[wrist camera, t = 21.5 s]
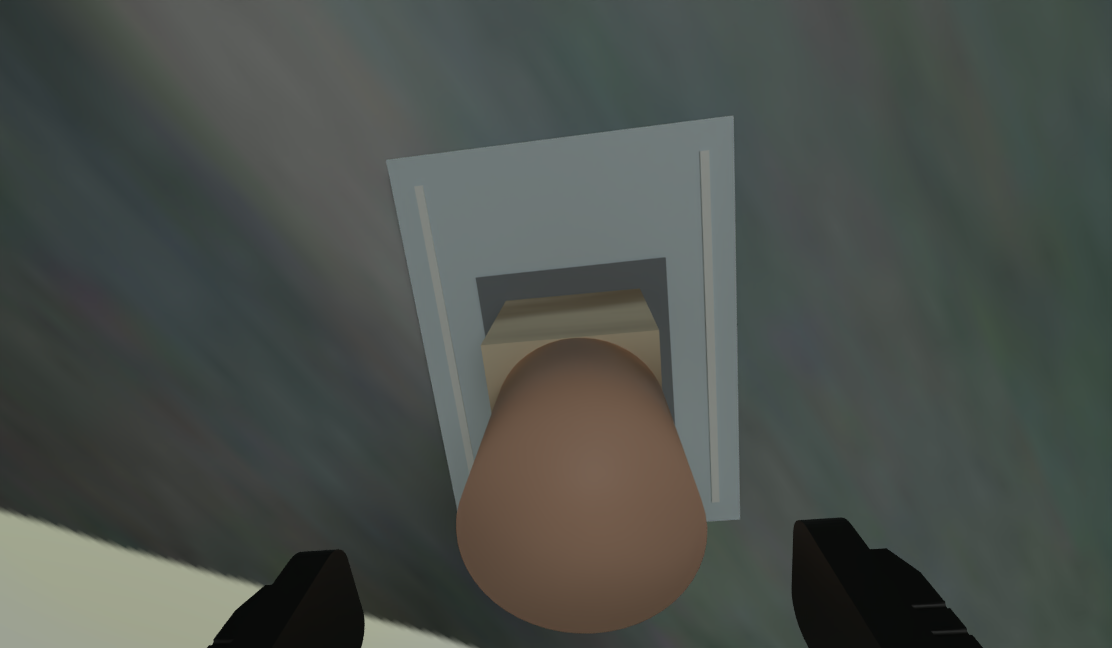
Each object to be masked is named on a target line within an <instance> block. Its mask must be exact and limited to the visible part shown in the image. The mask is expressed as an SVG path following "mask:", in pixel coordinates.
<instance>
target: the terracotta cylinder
mask: <svg viewBox="0 0 1112 648" xmlns="http://www.w3.org/2000/svg"><path fill="white" fill-rule="evenodd" d="M456 533H457V541H458V546H459V550H460V553H461V557H462V559H463V561H464V563H465V566H466V568H467V570H468V571H469V573H470V575H471V576H472V578H473V579H474V581H475V582H476V584H477V585H478V586H479V587H480V588H481V590H482V591H483V592H484V593H485V594H486V595H487V596H488V597H489V598H490V599H492V600H493V601H494V602H495V603H496V604H498V605H499V606H500V607H502V608H503V609H504V610H506V611H507V612H509V613H511V614H513V615H514V616H516V617H518V618H520V619H522V620H524V621H527V622H529V623H531V624H534V625H537V626H540V627H543V628H546V629H551V630H556V631H561V632H569V633H601V632H609V631H614V630H619V629H623V628H626V627H629V626H632V625H635V624H638V623H640V622H642V621H645V620H647V619H649V618H651V617H653V616H654V615H656V614H658V613H659V612H661V611H663V610H664V609H665V608H667V607H668V606H669V605H670V604H672V603H673V602H674V601H675V600H676V599H677V598H678V597H679V596H680V595H681V594H682V593H683V592H684V591H685V590H686V588H687V587H688V586H689V584H690V583H691V582H692V580H693V578H694V577H695V575H696V573H697V571H698V569H699V567H700V565H701V562H702V559H703V556H704V552H705V547H706V542H707V522H706V514H705V510H704V507H703V503H702V500H701V497H700V494H699V491H698V489H697V486H696V483H695V480H694V477H693V475H692V472H691V469H690V466H689V463H688V461H687V458H686V455H685V452H684V449H683V446H682V444H681V441H680V438H679V435H678V432H677V430H676V427H675V424H674V421H673V418H672V416H671V413H670V410H669V407H668V404H667V402H666V399H665V396H664V393H663V390H662V388H661V386H660V384H659V382H658V380H657V378H656V377H655V375H654V374H653V372H652V371H651V370H650V369H649V368H648V366H647V365H646V364H645V363H644V362H643V361H642V360H640V359H639V358H638V357H637V356H636V355H634V354H633V353H631V352H630V351H628V350H626V349H624V348H622V347H620V346H618V345H616V344H613V343H610V342H607V341H603V340H599V339H593V338H568V339H562V340H558V341H554V342H551V343H548V344H546V345H543V346H541V347H539V348H537V349H535V350H534V351H532V352H530V353H529V354H527V355H526V356H525V357H524V358H522V359H521V360H520V361H519V362H518V363H517V364H516V365H515V366H514V367H513V368H512V370H511V371H510V373H509V374H508V375H507V377H506V379H505V381H504V383H503V385H502V387H501V389H500V392H499V395H498V398H497V400H496V403H495V406H494V408H493V411H492V414H491V417H490V419H489V422H488V425H487V428H486V430H485V433H484V436H483V438H482V441H481V444H480V447H479V449H478V452H477V455H476V458H475V460H474V463H473V466H472V468H471V471H470V474H469V477H468V479H467V482H466V485H465V488H464V490H463V493H462V496H461V499H460V502H459V506H458V511H457V517H456Z"/></svg>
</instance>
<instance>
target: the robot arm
mask: <svg viewBox="0 0 1112 648" xmlns="http://www.w3.org/2000/svg"><path fill="white" fill-rule="evenodd" d="M792 600H793V606H794V611H795V615H796V619H797V622H798V625H799V628H800V630H801V633H802V635H803V637H804V639H805V641H806V643H807V645H808V648H983V647H982V646H981V645H980V644H979V642H978V641H977V640H976V639H975V638H974V636H973V635H969V634H968V632H967V628H966V627H965V626H964V624H963V623H962V622H961V621H960V620H959V618H958V617H957V616H956V615H955V614H954V612H953V611H952V610H951V609H950V608H947V607H946V605H945V601H944V600H943V599H942V598H941V597H940V595H939V594H938V593H937V592H936V591H935V589H934V588H933V587H932V586H931V585H930V583H929V582H928V581H927V580H926V578H925V577H924V576H923V575H922V574H921V572H919V571H918V570H916V569H915V568H914V567H912V566H911V565H909V564H908V563H907V562H905V561H904V560H902V559H901V558H899V557H898V556H897V555H895V554H894V553H892V552H891V551H889V550H888V549H887V548H885V549H869V548H868V546H867V545H866V544H865V542H864V541H863V540H862V538H861V537H860V536H859V534H858V533H857V532H856V530H855V529H854V527H853V526H852V525H851V524H850V522H849V521H847V520H846V519H845V518H826V519H811V520H798V521H796V522H795V524H794V530H793V559H792ZM364 624H365V623H364V614H363V610H362V606H361V603H360V599H359V596H358V592H357V589H356V586H355V582H354V579H353V575H352V572H351V568H350V565H349V562H348V558H347V556H346V554H345V553H344V552H343V551H342V550H339V549H338V550H323V551H308V552H299V553H297V554H295V555H294V556H293V557H292V558H291V559H290V561H289V562H288V563H287V565H286V566H285V568H284V569H283V570H282V572H281V573H280V575H279V576H278V577H277V579H276V580H275V582H274V583H273V584H272V585H265V586H264V587H262V588H261V589H260V590H259V591H258V592H257V593H255V594H254V595H253V596H252V597H251V598H249V599H248V600H247V601H246V602H245V603H244V604H242V605H241V606H240V607H239V608H238V609H237V610H235V612H234V613H233V614H232V616H231V617H230V618H229V620H228V621H227V622H226V624H225V625H224V626H223V628H222V629H221V630H220V632H219V633H218V634H217V635H216V637H215V638H214V642H213V645H209V646H208V647H207V648H361V646H362V642H363V636H364V626H365V625H364Z"/></svg>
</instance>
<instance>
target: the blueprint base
mask: <svg viewBox="0 0 1112 648" xmlns="http://www.w3.org/2000/svg"><path fill="white" fill-rule="evenodd" d="M386 162H387V167H388V172H389V177H390V182H391V187H392V192H393V197H394V202H395V207H396V212H397V216H398V221H399V226H400V231H401V236H402V241H403V246H404V251H405V256H406V261H407V266H408V270H409V275H410V280H411V285H412V290H413V295H414V300H415V305H416V310H417V315H418V320H419V325H420V329H421V334H422V339H423V344H424V349H425V354H426V359H427V364H428V369H429V374H430V379H431V383H432V388H433V393H434V398H435V403H436V408H437V413H438V418H439V423H440V428H441V433H442V438H443V442H444V447H445V452H446V457H447V462H448V467H449V472H450V477H451V482H452V487H453V492H454V497H455V501H456V506H457V511H458V506H459V502H460V499H461V496H462V493H463V490H464V488H465V485H466V482H467V479H468V477H469V474H470V471H471V468H472V466H473V463H474V460H475V458H476V455H477V452H478V449H479V447H480V444H481V441H482V438H483V436H484V433H485V430H486V428H487V425H488V422H489V419H490V417H491V408H490V401H489V395H488V389H487V382H486V376H485V370H484V363H483V357H482V351H481V344H482V342H483V340H484V339H485V337H486V335H487V333H488V331H489V330H490V328H491V326H492V324H493V323H494V321H495V319H496V317H497V316H498V314H499V312H500V310H501V309H502V307H503V305H504V303H505V301H509V300H520V299H531V298H542V297H553V296H563V295H574V294H585V293H596V292H607V291H618V290H629V289H639V288H640V290H641V292H642V294H643V296H644V299H645V301H646V303H647V305H648V307H649V309H650V311H651V314H652V316H653V318H654V320H655V322H656V324H657V327H658V329H659V337H660V356H661V376H662V390H663V393H664V396H665V399H666V402H667V404H668V407H669V410H670V413H671V416H672V418H673V421H674V424H675V427H676V430H677V432H678V435H679V438H680V441H681V444H682V446H683V449H684V452H685V455H686V458H687V461H688V463H689V466H690V469H691V472H692V475H693V477H694V480H695V483H696V486H697V489H698V491H699V494H700V497H701V500H702V503H703V507H704V510H705V514H706V522H707V521H722V520H738V519H740V486H739V424H738V361H737V299H736V237H735V174H734V116H726V117H718V118H710V119H703V120H695V121H687V122H679V123H671V124H663V125H656V126H648V127H640V128H632V129H624V130H617V131H609V132H601V133H593V134H585V135H577V136H570V137H562V138H554V139H546V140H538V141H530V142H523V143H515V144H507V145H499V146H491V147H483V148H476V149H468V150H460V151H452V152H444V153H436V154H429V155H421V156H413V157H405V158H397V159H389V160H386Z"/></svg>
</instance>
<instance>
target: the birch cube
mask: <svg viewBox="0 0 1112 648" xmlns="http://www.w3.org/2000/svg"><path fill="white" fill-rule="evenodd" d="M568 338H593V339H599V340H603V341H607V342H610V343H613V344H616V345H618V346H620V347H622V348H624V349H626V350H628V351H630V352H631V353H633V354H634V355H636V356H637V357H638V358H639V359H640V360H642V361H643V362H644V363H645V364H646V365H647V366H648V368H649V369H650V370H651V371H652V372H653V374H654V375H655V377H656V378H657V380H658V382H659V384H660V386H661V388H662V376H661V356H660V337H659V329H658V327H657V324H656V322H655V320H654V318H653V316H652V314H651V311H650V309H649V307H648V305H647V303H646V301H645V299H644V296H643V294H642V292H641V290H640V288H639V289H629V290H618V291H607V292H596V293H585V294H574V295H563V296H553V297H542V298H531V299H520V300H509V301H505V303H504V305H503V307H502V309H501V310H500V312H499V314H498V316H497V317H496V319H495V321H494V323H493V324H492V326H491V328H490V330H489V331H488V333H487V335H486V337H485V339H484V340H483V342H482V344H481V351H482V357H483V363H484V370H485V376H486V382H487V389H488V395H489V401H490V408H491V414H492V411H493V408H494V406H495V403H496V400H497V398H498V395H499V392H500V389H501V387H502V385H503V383H504V381H505V379H506V377H507V375H508V374H509V373H510V371H511V370H512V368H513V367H514V366H515V365H516V364H517V363H518V362H519V361H520V360H521V359H522V358H524V357H525V356H526V355H527V354H529V353H530V352H532V351H534V350H535V349H537V348H539V347H541V346H543V345H546V344H548V343H551V342H554V341H558V340H562V339H568Z"/></svg>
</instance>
